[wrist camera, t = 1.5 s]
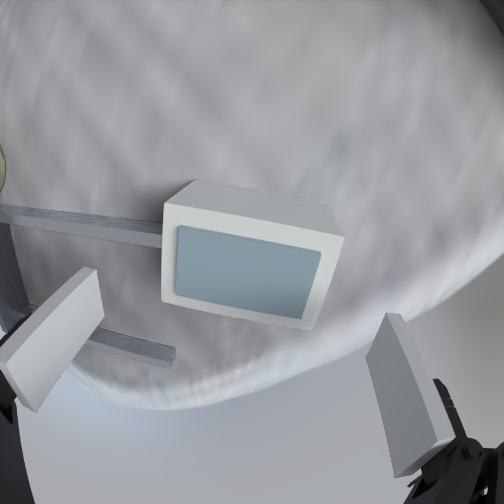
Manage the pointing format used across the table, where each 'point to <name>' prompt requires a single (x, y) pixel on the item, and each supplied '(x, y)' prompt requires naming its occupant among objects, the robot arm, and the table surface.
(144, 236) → the rail
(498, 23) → the faucet
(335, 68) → the table surface
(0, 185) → the flower pot
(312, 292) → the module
